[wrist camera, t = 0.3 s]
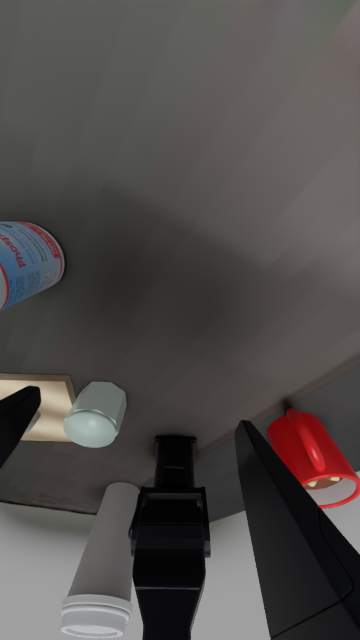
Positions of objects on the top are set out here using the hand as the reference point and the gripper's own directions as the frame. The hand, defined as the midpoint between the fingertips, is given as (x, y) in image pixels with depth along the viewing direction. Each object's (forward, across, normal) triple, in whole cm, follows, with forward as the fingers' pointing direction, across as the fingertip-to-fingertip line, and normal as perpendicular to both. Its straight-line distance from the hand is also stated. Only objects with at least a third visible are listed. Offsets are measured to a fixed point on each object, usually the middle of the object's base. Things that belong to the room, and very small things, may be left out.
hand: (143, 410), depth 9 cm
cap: (+14, +6, +16) cm, 22 cm away
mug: (+14, -21, +15) cm, 30 cm away
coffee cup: (+15, +1, +40) cm, 43 cm away
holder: (+14, +15, +20) cm, 29 cm away
